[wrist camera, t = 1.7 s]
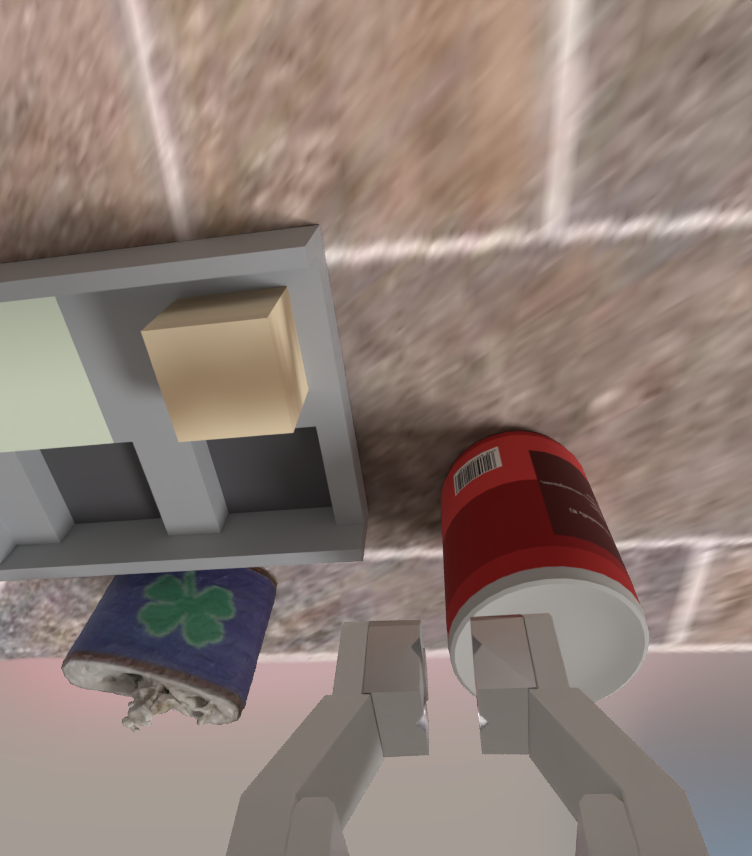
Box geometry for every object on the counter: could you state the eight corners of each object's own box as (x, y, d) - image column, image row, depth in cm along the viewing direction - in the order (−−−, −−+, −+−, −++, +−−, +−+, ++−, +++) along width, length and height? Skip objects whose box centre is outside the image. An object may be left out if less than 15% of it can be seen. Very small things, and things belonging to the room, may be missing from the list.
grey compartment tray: (-108, 277, 29) (-180, 303, 25) (319, 224, 26) (304, 246, 23) (29, 534, 37) (-12, 582, 33) (368, 512, 34) (362, 560, 31)
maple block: (176, 298, 26) (140, 331, 23) (287, 286, 26) (267, 317, 22) (206, 398, 29) (178, 442, 25) (308, 389, 28) (293, 432, 25)
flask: (130, 559, 37) (36, 717, 28) (136, 525, 36) (40, 680, 27) (273, 601, 38) (228, 766, 29) (285, 569, 37) (242, 732, 28)
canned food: (428, 533, 35) (432, 703, 25) (456, 414, 31) (473, 564, 21) (558, 552, 35) (610, 729, 26) (602, 436, 31) (684, 594, 21)
